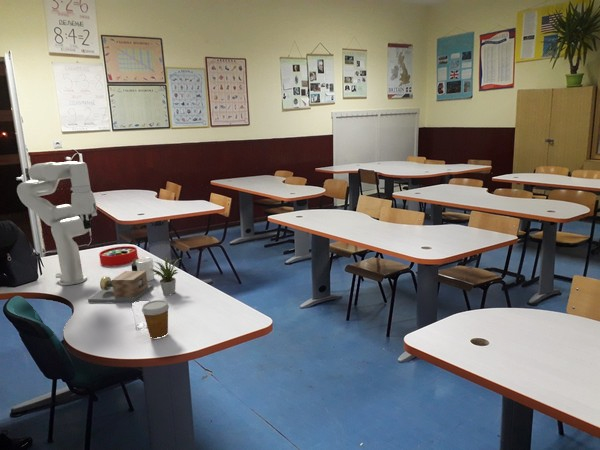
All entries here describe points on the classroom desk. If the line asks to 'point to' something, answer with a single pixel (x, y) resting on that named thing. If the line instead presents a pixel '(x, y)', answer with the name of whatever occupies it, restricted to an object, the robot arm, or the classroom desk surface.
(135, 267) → the mobile phone
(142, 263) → the white cup
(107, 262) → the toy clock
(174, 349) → the classroom desk surface
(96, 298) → the base mat
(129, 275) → the block
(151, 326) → the disposable coffee cup
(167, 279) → the house plant
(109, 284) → the shaft
